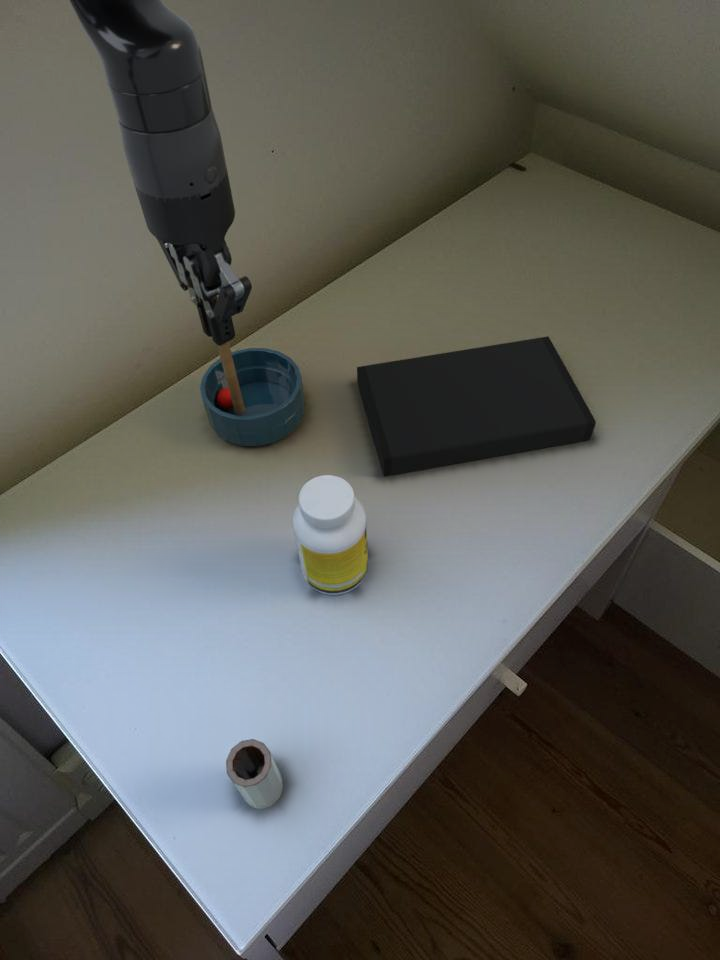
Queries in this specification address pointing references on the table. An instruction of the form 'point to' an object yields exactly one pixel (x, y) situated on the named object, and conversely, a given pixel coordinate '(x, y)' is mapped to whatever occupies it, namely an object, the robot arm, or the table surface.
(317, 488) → the pill bottle
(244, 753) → the holder
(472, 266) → the table surface
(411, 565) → the table surface
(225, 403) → the ball
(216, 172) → the robot arm
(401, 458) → the external hard drive
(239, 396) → the stick
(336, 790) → the table surface
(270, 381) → the bowl
